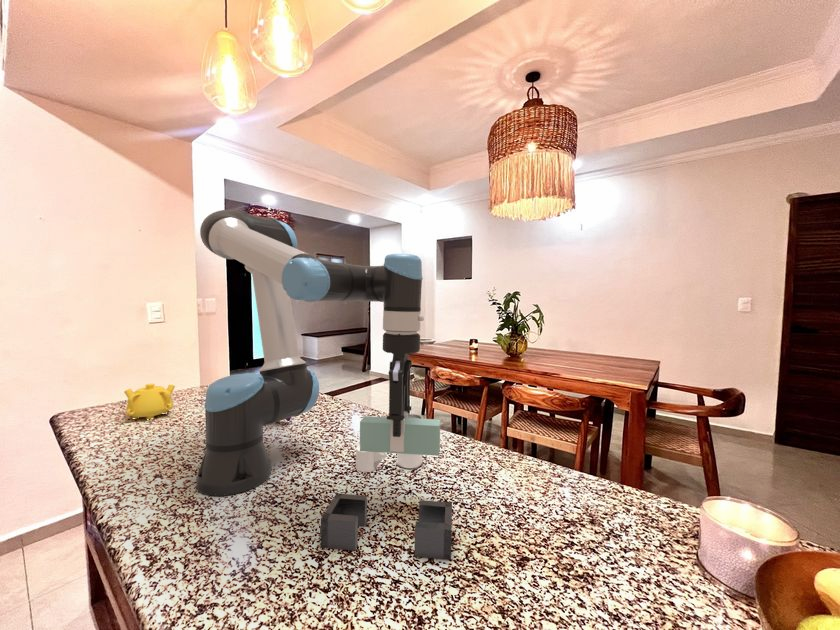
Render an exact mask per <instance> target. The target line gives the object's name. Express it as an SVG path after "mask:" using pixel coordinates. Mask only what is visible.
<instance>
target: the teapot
mask: <svg viewBox="0 0 840 630" xmlns="http://www.w3.org/2000/svg"><path fill="white" fill-rule="evenodd" d="M155 384H156V383H146V384H145V386H144V387H141V388H140V387H139V388H137V389H136V390H135V391H133V389H132V388H128V389H126V390H124V395H125V396H126V397H127V405H126V411H125V412H126V415H127V416H132V418H138V417H140V418H145V420H146V419H151V418H154V419H155V416H158V415H159V416H160V414H162V413H166V412H167V413H168V412H169V410H171V409H172V408H173V405H174V403H173V402H174V400H173V398H172V394H173V392H174V390H175V387H176V386H175V385H174V384H168V386H167V388H165V387H164V386H161V385H155ZM138 419H139V418H138Z"/></svg>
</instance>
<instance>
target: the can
mask: <svg viewBox="0 0 840 630" xmlns="http://www.w3.org/2000/svg"><path fill="white" fill-rule="evenodd" d="M408 418H416V419H423V418H422V416H421V415H419V414H413V413H408ZM396 455H397V457H396V459H397V461H396V464H397V465H398V466H399V467H400V468H402V469H408V470H412V469H413V470H414V469H417V468H419V467H421V465H422V464H423V455H417V454H400V453H396Z"/></svg>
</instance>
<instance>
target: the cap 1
mask: <svg viewBox="0 0 840 630" xmlns="http://www.w3.org/2000/svg"><path fill="white" fill-rule="evenodd" d="M367 522H368V495H363V494H362V495H361V494H352V493H351V494H350V493H349V494H348V493H341V492H340V493H338V492H336V493H335V495H334V497H333V498H332V499H331V501H330V503H329V504H328V506H327V507H326V510H325V511H324V513H323V514H322V516H321V518H320V548H324V549H335V550H344V551H356V550H357V547H358V545H359V544H358V543H359V542H358V540H359V539H358V537H359V527H363V528H364V527H366V524H367Z"/></svg>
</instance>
